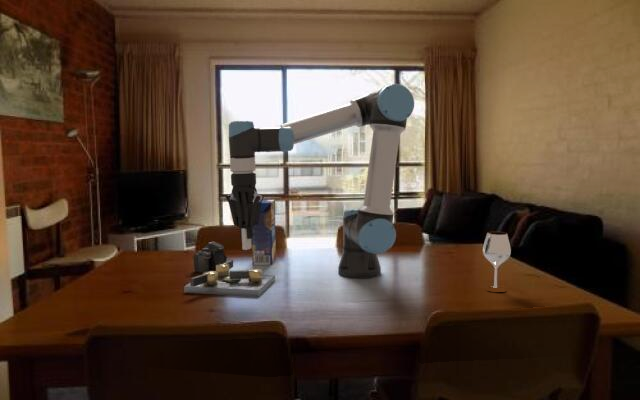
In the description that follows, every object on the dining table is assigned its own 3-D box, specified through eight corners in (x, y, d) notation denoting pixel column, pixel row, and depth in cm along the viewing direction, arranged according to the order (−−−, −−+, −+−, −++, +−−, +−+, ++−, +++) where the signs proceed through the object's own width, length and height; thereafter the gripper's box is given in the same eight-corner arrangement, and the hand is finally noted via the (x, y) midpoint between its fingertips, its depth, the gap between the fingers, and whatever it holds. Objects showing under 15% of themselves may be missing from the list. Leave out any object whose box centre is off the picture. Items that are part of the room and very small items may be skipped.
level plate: (275, 280, 162) (275, 271, 162) (258, 296, 144) (258, 286, 144) (208, 277, 167) (207, 268, 166) (183, 292, 149) (183, 283, 148)
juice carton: (271, 265, 185) (270, 202, 182) (252, 264, 185) (251, 202, 183) (275, 258, 197) (275, 199, 194) (257, 258, 197) (256, 199, 195)
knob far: (226, 276, 159) (226, 266, 158) (214, 276, 160) (213, 266, 159) (237, 269, 169) (237, 259, 168) (225, 268, 169) (225, 259, 169)
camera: (215, 274, 171) (215, 246, 170) (190, 272, 174) (190, 245, 173) (232, 265, 184) (231, 240, 183) (208, 264, 187) (208, 239, 186)
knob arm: (262, 278, 156) (262, 268, 156) (262, 282, 152) (261, 271, 152) (230, 279, 155) (230, 269, 155) (229, 283, 151) (229, 272, 151)
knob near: (210, 280, 154) (210, 270, 154) (220, 282, 152) (220, 271, 152) (186, 288, 146) (186, 277, 145) (197, 290, 143) (197, 279, 143)
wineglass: (496, 295, 145) (498, 236, 143) (475, 288, 152) (477, 232, 150) (515, 291, 149) (517, 234, 147) (494, 285, 156) (496, 230, 154)
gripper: (268, 171, 146) (271, 247, 149) (234, 171, 152) (237, 245, 155) (253, 173, 140) (257, 252, 142) (218, 173, 146) (222, 249, 148)
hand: (247, 248), depth 148 cm, fingers closed
